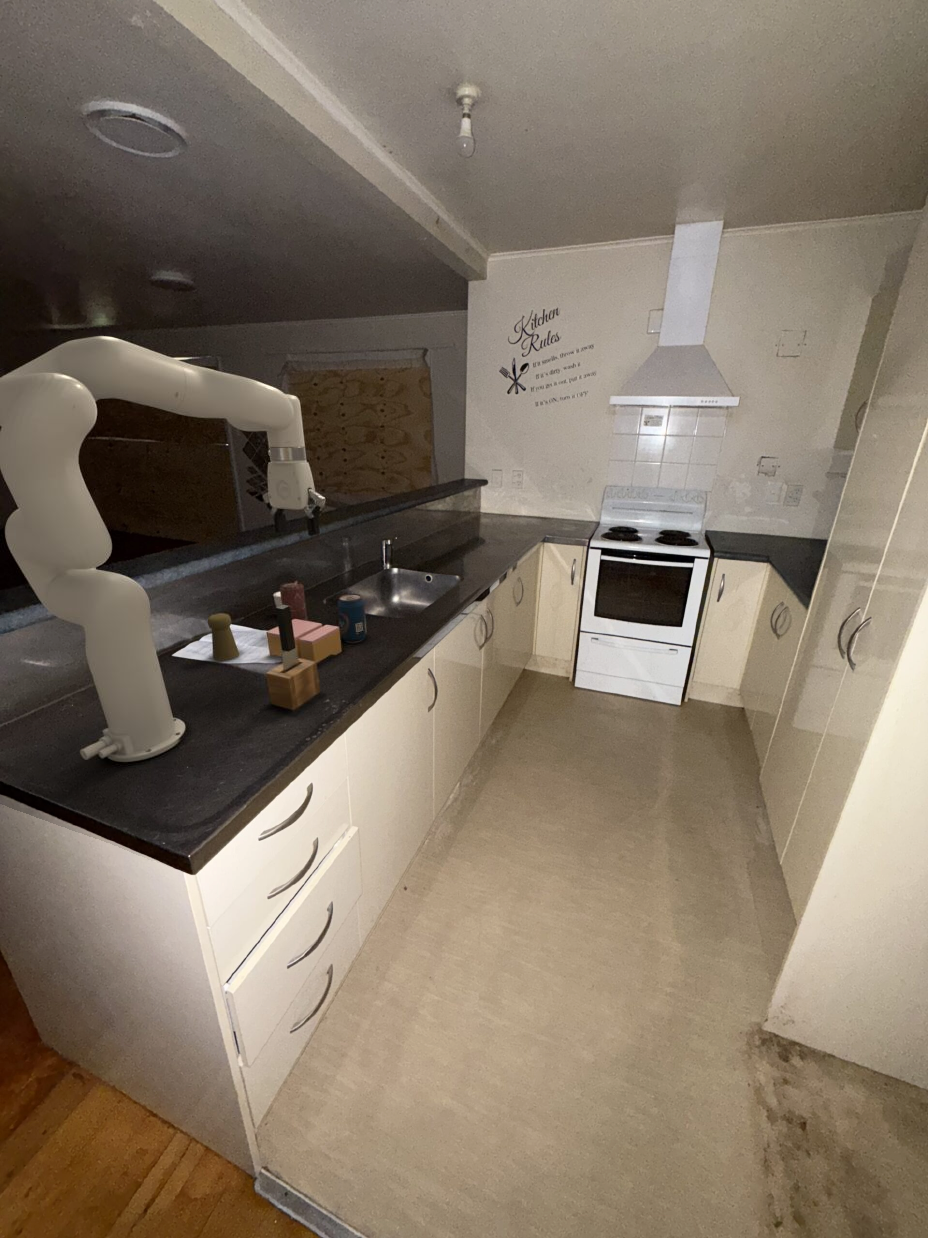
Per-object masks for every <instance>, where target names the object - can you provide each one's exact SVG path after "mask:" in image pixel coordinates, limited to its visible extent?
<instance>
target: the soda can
mask: <svg viewBox="0 0 928 1238" xmlns="http://www.w3.org/2000/svg"><path fill="white" fill-rule="evenodd" d="M337 611H338V622H339V631H340V638H341V639H342V640H343V641H344V642H345V643H348V644H356V643H360V642H363V641H364V640H365V639H366V637H367V635H368V631H367V630H368V629H367V619H366V606H365V601H364V599H363V598H362V595H361V594H358V593H346V594H342V595H340V596H339V598H338V602H337Z"/></svg>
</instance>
